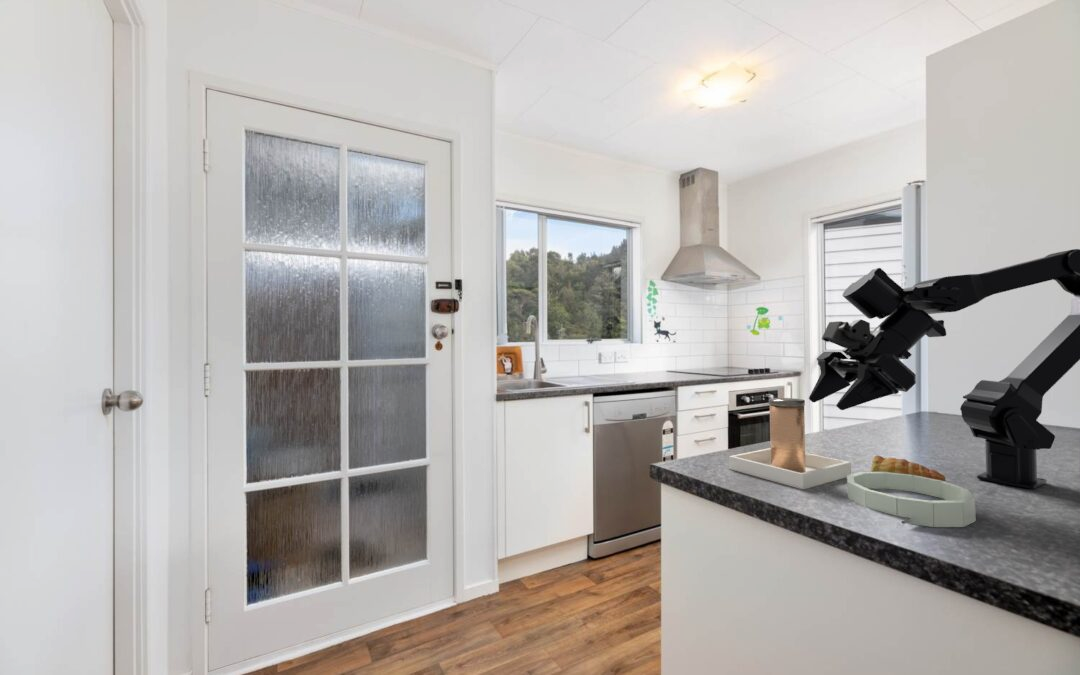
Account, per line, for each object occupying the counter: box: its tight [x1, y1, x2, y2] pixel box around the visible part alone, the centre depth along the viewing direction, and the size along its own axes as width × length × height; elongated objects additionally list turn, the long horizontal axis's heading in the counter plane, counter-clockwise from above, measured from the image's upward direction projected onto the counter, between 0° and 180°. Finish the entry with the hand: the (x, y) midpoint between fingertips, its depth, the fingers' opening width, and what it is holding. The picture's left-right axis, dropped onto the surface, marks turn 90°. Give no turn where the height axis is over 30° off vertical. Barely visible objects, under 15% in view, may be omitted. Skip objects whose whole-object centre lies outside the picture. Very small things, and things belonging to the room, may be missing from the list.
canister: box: [768, 397, 806, 473], centre depth 78 cm, size 5×5×12 cm
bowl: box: [846, 471, 977, 528], centre depth 63 cm, size 13×13×3 cm
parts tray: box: [728, 447, 852, 490], centre depth 78 cm, size 13×13×3 cm
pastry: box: [870, 455, 946, 482], centre depth 74 cm, size 9×7×4 cm
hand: (824, 404), depth 77 cm, fingers open, 9 cm apart
